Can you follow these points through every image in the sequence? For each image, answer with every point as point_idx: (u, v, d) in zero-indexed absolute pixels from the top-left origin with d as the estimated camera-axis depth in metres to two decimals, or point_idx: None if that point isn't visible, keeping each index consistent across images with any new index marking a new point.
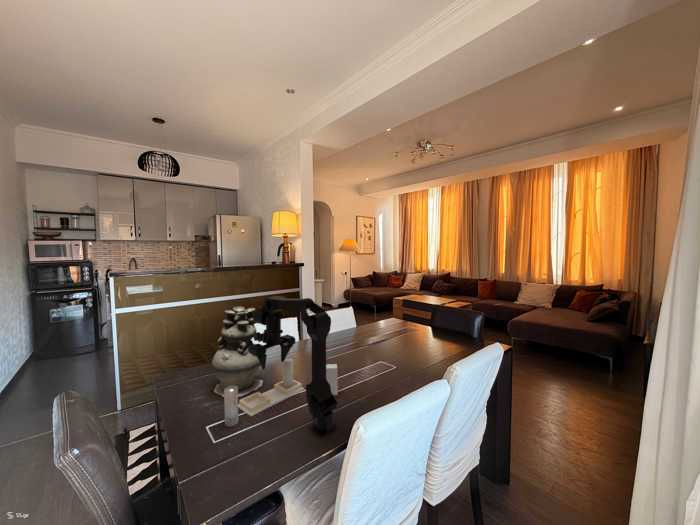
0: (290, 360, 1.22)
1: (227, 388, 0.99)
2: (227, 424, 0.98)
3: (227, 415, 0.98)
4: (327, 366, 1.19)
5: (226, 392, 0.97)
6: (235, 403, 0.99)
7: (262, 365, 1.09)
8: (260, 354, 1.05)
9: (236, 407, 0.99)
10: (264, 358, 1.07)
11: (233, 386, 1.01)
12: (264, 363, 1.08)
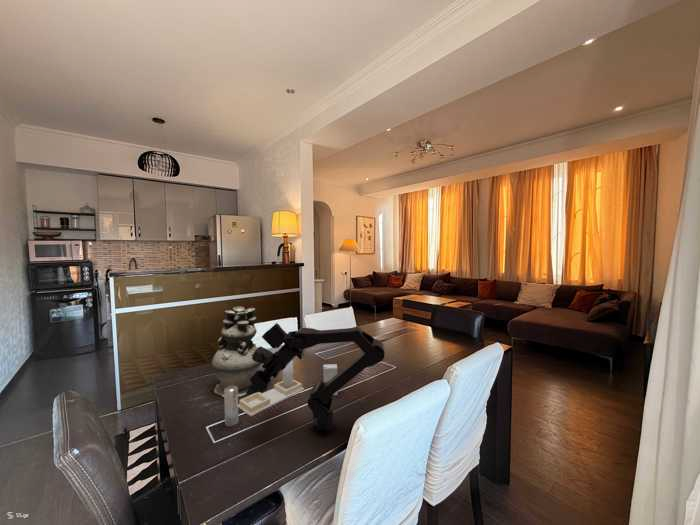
0: None
1: (227, 388, 0.99)
2: (227, 424, 0.98)
3: (227, 415, 0.98)
4: (327, 366, 1.19)
5: (226, 392, 0.97)
6: (235, 403, 0.99)
7: (251, 392, 0.93)
8: None
9: (236, 407, 0.99)
10: None
11: (233, 386, 1.01)
12: None
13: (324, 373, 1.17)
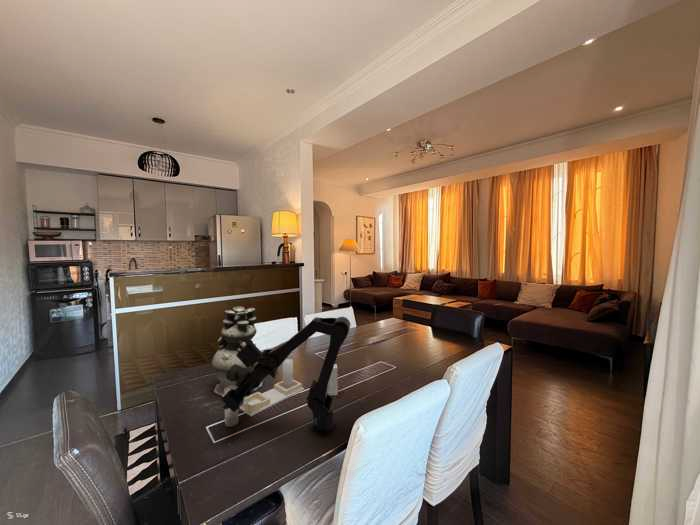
0: (290, 360, 1.22)
1: (227, 388, 0.99)
2: (227, 424, 0.98)
3: (227, 415, 0.98)
4: None
5: (226, 392, 0.97)
6: None
7: (227, 406, 0.97)
8: (237, 409, 0.91)
9: None
10: None
11: (233, 386, 1.01)
12: None
13: None
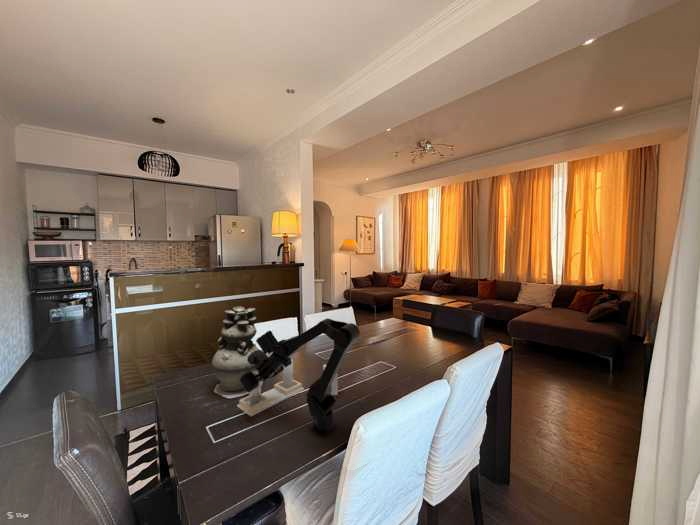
0: None
1: (252, 372, 1.10)
2: None
3: (250, 396, 1.08)
4: None
5: None
6: (257, 387, 1.08)
7: (246, 388, 1.06)
8: (251, 390, 1.00)
9: (258, 391, 1.09)
10: None
11: None
12: None
13: None
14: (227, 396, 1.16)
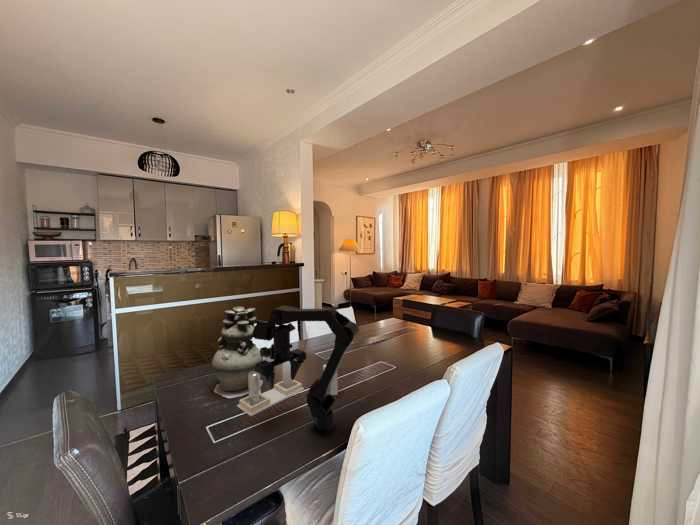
0: None
1: (251, 372, 1.10)
2: None
3: (249, 396, 1.08)
4: None
5: (249, 376, 1.08)
6: (256, 387, 1.08)
7: (270, 385, 0.97)
8: (267, 373, 0.93)
9: (257, 391, 1.09)
10: (272, 377, 0.95)
11: None
12: (272, 382, 0.96)
13: None
14: (227, 396, 1.16)
